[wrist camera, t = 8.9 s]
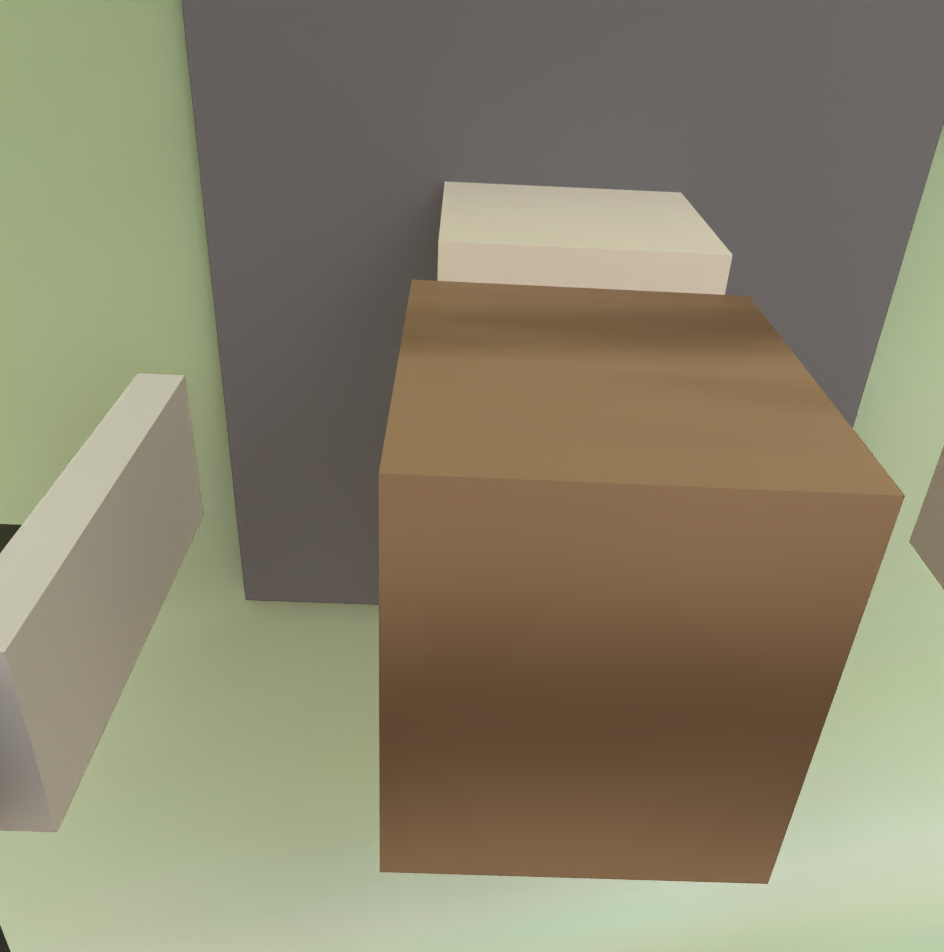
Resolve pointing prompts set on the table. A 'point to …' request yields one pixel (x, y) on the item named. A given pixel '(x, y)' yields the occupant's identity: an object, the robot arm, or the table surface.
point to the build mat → (524, 112)
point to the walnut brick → (610, 583)
